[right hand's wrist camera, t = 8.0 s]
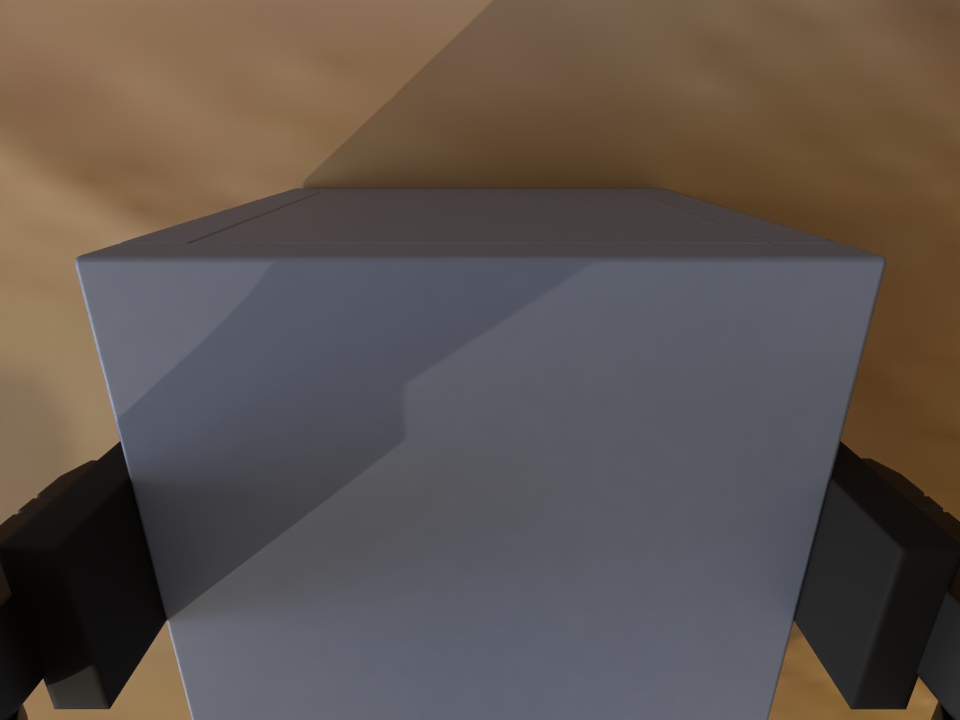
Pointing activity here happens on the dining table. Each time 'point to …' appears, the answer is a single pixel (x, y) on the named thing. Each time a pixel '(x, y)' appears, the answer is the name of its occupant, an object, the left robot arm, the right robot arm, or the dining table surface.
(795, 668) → the dining table surface
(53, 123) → the dining table surface
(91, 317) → the cabinet
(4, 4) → the dining table surface
